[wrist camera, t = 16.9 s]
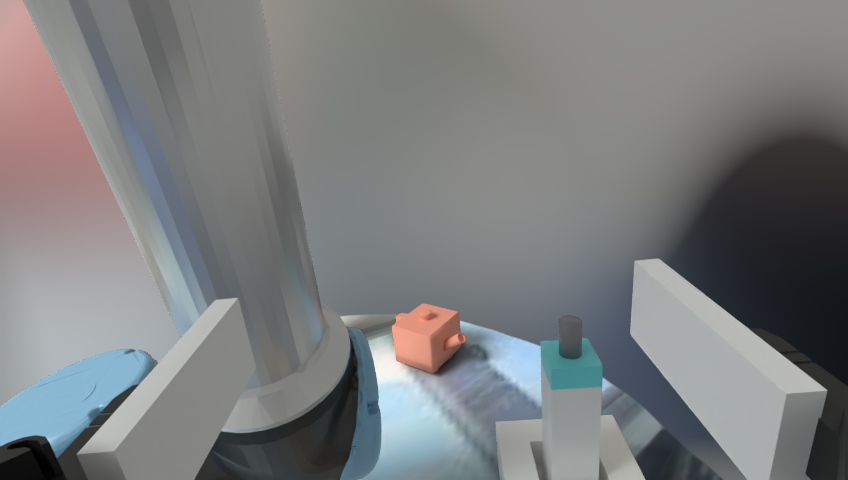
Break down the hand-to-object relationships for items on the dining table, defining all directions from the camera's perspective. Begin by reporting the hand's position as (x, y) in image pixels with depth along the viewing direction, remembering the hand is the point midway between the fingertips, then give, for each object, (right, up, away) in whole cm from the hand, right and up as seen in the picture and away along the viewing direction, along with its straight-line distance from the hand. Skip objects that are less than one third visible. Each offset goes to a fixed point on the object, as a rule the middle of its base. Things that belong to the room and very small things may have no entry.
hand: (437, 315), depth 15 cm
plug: (+13, -21, +28) cm, 37 cm away
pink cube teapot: (+1, -16, +55) cm, 57 cm away
